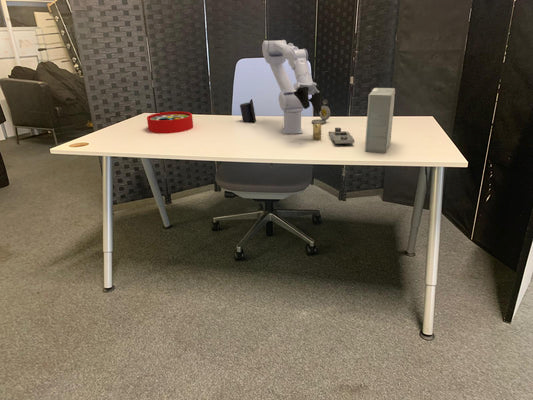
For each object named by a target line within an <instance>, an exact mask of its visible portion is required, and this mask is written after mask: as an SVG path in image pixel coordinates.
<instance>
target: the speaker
mask: <svg viewBox="0 0 533 400" xmlns="http://www.w3.org/2000/svg"><path fill="white" fill-rule="evenodd" d="M239 108H240V113H241V119H242V122H243V123H248V122H252V121H253V124H255V123H256V121H257V118H256V117H257V116H256V111H255V107H254V102H253V99H250V100H249V102H244V103H241V104H239Z"/></svg>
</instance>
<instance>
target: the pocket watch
mask: <svg viewBox="0 0 533 400" xmlns="http://www.w3.org/2000/svg"><path fill="white" fill-rule="evenodd" d="M322 103H323V105H321V111H320V112H319V113H318V115H319V118H320V119H312V120H311V123H312V124H315V123H319V124H321V125H324V124H326V123H327V121H328V119H330V117H331V110H330V107H328V106H327V105H326V104H327V99H324V100H323V101H322Z"/></svg>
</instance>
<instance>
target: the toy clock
mask: <svg viewBox="0 0 533 400" xmlns="http://www.w3.org/2000/svg"><path fill="white" fill-rule="evenodd" d="M146 120H147V121H146V122H147V128H148V132H150V133H153V134H162V135H163V134H164V135H165V134H166V135H167V134H178V133H183V132H187V131H190V130H192V129H193V128H194V119H193V114H192V113H191V112H189V111H163V112H157V113H153V114H150V115H148V116H146Z"/></svg>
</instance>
